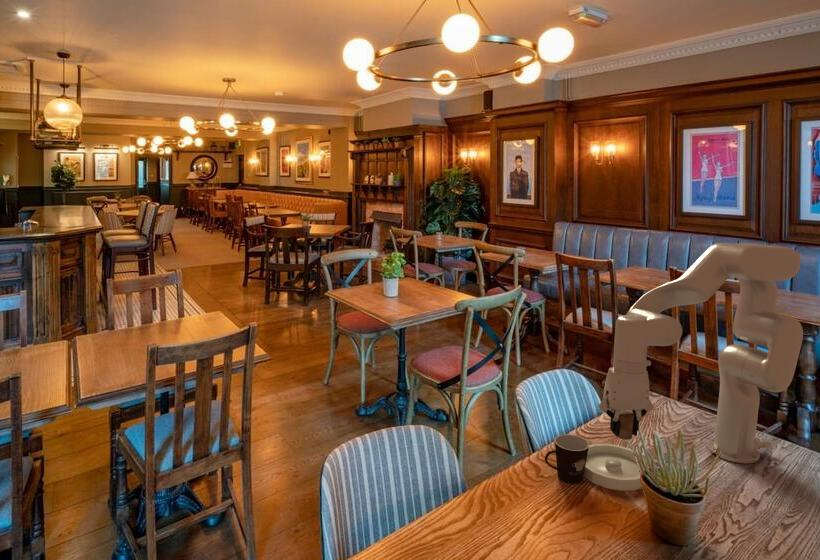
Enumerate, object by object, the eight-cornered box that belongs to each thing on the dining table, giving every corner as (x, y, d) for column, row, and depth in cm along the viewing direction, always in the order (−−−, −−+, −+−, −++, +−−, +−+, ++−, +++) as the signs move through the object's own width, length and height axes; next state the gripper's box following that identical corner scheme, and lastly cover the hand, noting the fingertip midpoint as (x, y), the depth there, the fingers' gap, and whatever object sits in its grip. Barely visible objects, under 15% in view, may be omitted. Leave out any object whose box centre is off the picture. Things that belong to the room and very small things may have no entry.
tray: (630, 452, 146) (630, 442, 145) (663, 489, 128) (664, 478, 127) (568, 454, 145) (568, 444, 144) (593, 491, 127) (593, 481, 127)
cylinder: (627, 431, 131) (629, 410, 130) (635, 439, 127) (636, 417, 126) (612, 432, 131) (614, 410, 130) (619, 439, 127) (621, 417, 126)
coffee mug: (582, 468, 138) (584, 434, 136) (590, 487, 129) (592, 451, 127) (539, 467, 139) (540, 433, 137) (544, 485, 130) (545, 449, 129)
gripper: (654, 359, 130) (648, 425, 133) (590, 360, 129) (586, 427, 132) (670, 369, 122) (663, 439, 126) (602, 371, 122) (597, 441, 125)
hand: (623, 432), depth 129 cm, fingers closed on cylinder, 4 cm apart
